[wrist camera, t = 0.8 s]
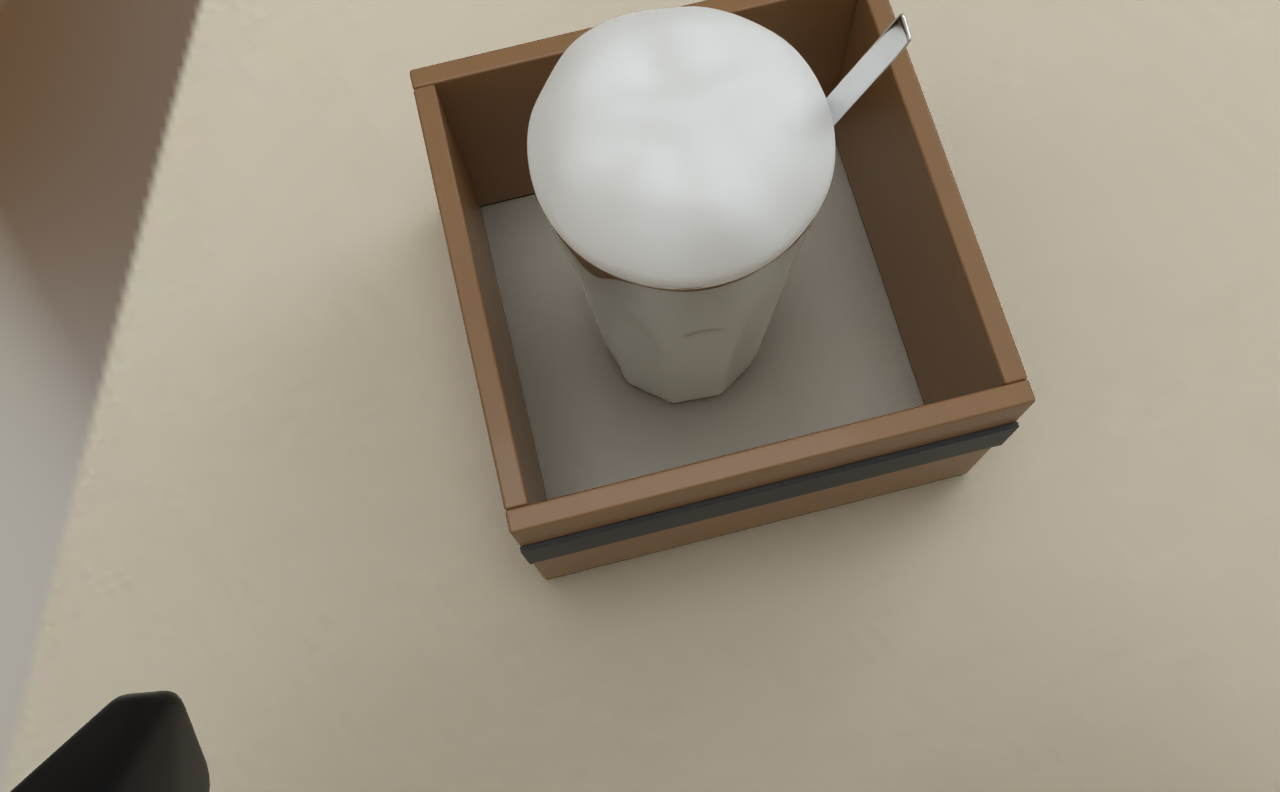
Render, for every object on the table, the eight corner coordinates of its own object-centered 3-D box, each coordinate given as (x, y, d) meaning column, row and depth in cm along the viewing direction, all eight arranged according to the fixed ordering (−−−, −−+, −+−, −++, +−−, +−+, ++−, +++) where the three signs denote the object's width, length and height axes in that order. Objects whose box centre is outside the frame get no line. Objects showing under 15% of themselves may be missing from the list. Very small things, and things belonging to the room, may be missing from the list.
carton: (969, 477, 24) (1038, 406, 19) (545, 585, 24) (510, 539, 19) (841, 103, 27) (875, -41, 22) (458, 195, 26) (408, 69, 22)
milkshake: (849, 405, 25) (952, 178, 15) (594, 452, 25) (536, 253, 15) (802, 209, 26) (868, -113, 16) (560, 253, 26) (486, -46, 16)
